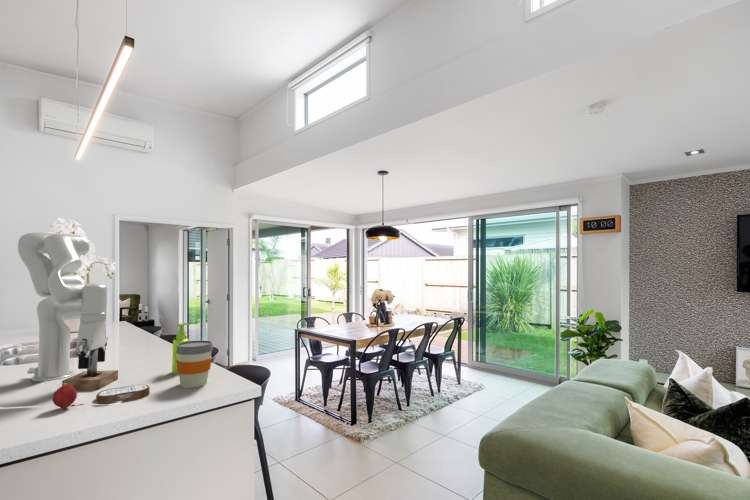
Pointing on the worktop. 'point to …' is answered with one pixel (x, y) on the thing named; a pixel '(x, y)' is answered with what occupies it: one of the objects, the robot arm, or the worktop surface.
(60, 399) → the onion
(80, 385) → the rod stand
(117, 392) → the tin
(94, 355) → the metal rod
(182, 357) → the reusable coffee cup
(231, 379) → the worktop surface
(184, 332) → the soap dispenser
